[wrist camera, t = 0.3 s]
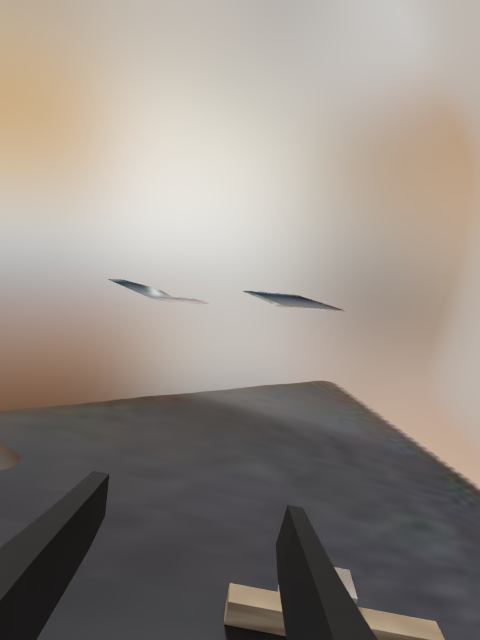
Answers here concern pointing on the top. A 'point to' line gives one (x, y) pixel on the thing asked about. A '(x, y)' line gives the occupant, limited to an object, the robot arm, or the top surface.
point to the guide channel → (266, 616)
